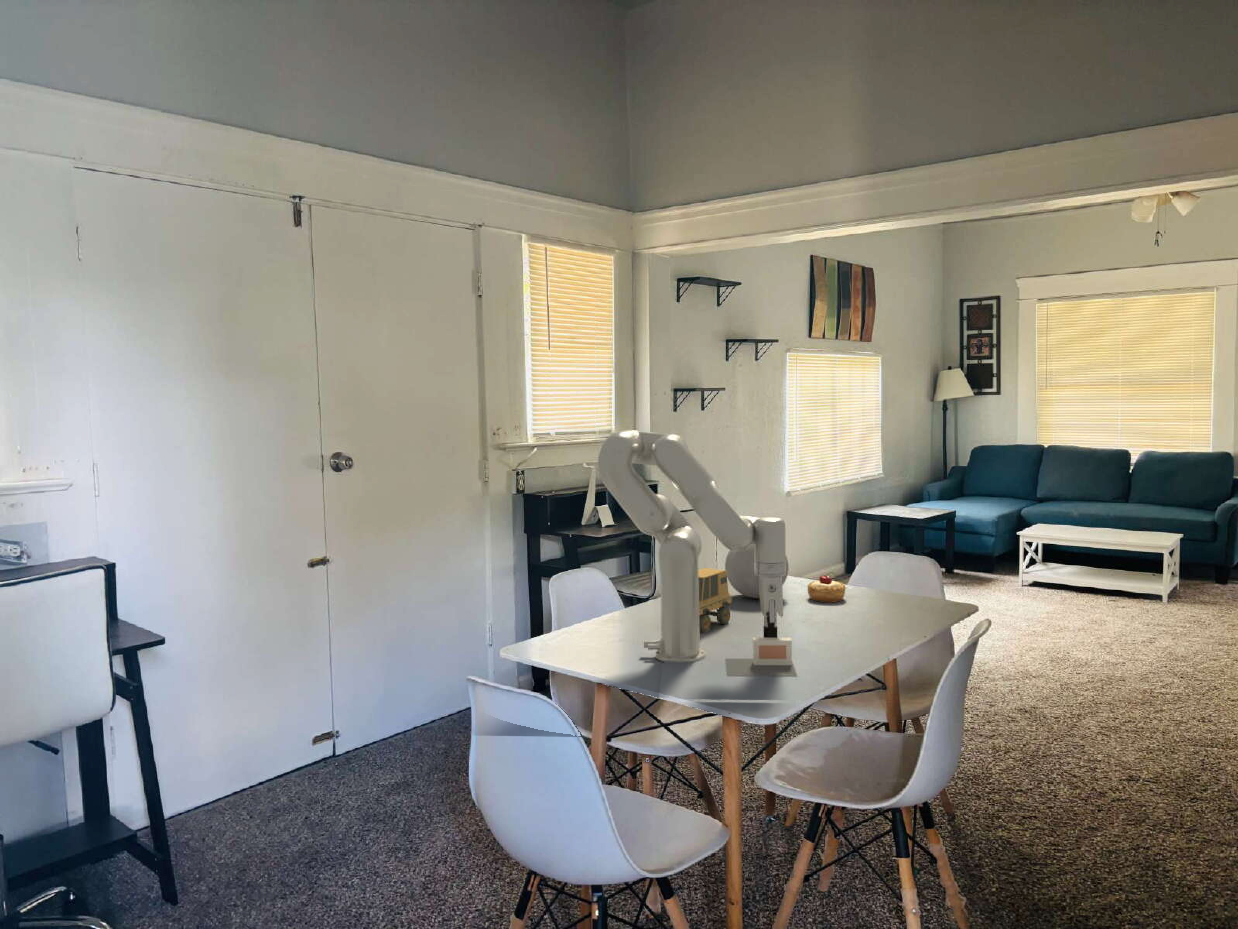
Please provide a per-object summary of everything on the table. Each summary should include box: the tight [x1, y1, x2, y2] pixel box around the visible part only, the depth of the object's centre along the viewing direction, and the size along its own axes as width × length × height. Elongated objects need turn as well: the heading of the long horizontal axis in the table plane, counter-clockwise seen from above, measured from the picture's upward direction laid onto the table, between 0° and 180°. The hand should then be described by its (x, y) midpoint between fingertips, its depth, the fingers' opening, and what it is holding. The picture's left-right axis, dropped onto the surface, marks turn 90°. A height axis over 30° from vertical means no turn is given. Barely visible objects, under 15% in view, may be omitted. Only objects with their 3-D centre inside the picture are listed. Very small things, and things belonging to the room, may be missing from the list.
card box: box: [752, 637, 793, 665], centre depth 223 cm, size 9×3×6 cm, turn 86°
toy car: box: [698, 567, 733, 633], centre depth 262 cm, size 10×19×15 cm, turn 144°
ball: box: [724, 544, 789, 599], centre depth 297 cm, size 20×20×20 cm
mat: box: [725, 658, 798, 678], centre depth 220 cm, size 16×14×1 cm
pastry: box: [807, 571, 846, 603], centre depth 293 cm, size 12×12×9 cm
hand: (770, 642), depth 227 cm, fingers closed
